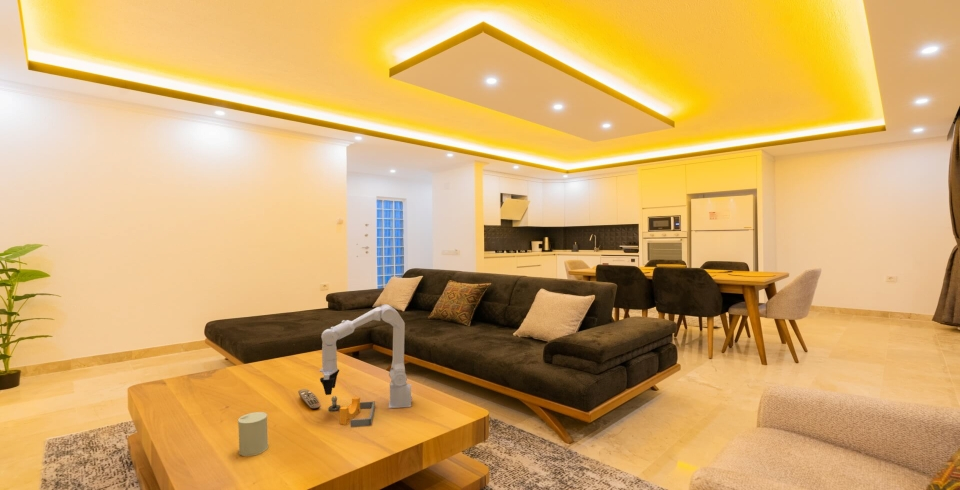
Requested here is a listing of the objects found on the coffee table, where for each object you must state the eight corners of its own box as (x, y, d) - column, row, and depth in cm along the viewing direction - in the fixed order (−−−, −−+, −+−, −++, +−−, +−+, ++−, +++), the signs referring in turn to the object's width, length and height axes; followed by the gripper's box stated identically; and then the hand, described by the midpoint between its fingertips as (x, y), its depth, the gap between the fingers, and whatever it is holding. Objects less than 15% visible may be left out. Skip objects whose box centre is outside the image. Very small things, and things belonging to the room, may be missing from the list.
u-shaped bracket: (375, 407, 188) (374, 401, 188) (371, 425, 171) (371, 418, 171) (356, 408, 187) (356, 402, 187) (350, 427, 170) (350, 420, 170)
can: (246, 443, 157) (245, 411, 157) (272, 442, 158) (271, 409, 158) (233, 457, 148) (232, 422, 148) (262, 455, 149) (260, 421, 148)
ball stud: (341, 406, 190) (341, 393, 190) (339, 411, 185) (339, 398, 185) (329, 407, 189) (329, 394, 189) (327, 411, 184) (327, 399, 184)
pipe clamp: (350, 411, 184) (350, 396, 184) (360, 412, 184) (359, 397, 183) (336, 424, 173) (335, 408, 172) (346, 425, 172) (345, 409, 172)
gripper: (323, 354, 187) (324, 385, 187) (315, 364, 173) (316, 398, 173) (340, 353, 188) (341, 384, 188) (333, 363, 173) (334, 397, 174)
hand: (330, 391), depth 181 cm, fingers open, 7 cm apart
